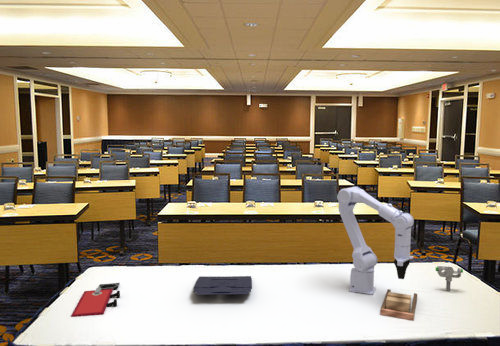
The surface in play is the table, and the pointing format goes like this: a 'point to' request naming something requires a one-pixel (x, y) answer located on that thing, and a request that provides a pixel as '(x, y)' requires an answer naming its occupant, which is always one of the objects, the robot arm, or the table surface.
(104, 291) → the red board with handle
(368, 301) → the table surface
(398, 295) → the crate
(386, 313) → the bay
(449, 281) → the mechanical component
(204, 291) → the dark grey flat slab
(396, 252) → the robot arm
